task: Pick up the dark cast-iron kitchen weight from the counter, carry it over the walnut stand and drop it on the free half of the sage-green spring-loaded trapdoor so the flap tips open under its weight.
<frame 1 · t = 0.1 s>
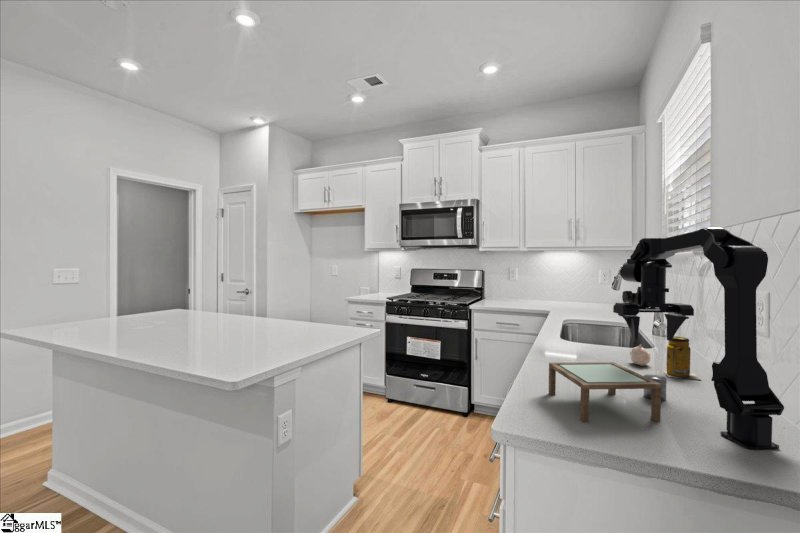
hand: (652, 340, 105), 14 cm above the worktop, fingers open, 9 cm apart
trapdoor: (599, 374, 95), point 8 cm above the worktop, hinge at 0.0°
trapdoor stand: (599, 406, 95), on the worktop
condiment: (681, 376, 120), on the worktop
garlic bulb: (640, 365, 132), on the worktop
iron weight: (654, 397, 101), on the worktop
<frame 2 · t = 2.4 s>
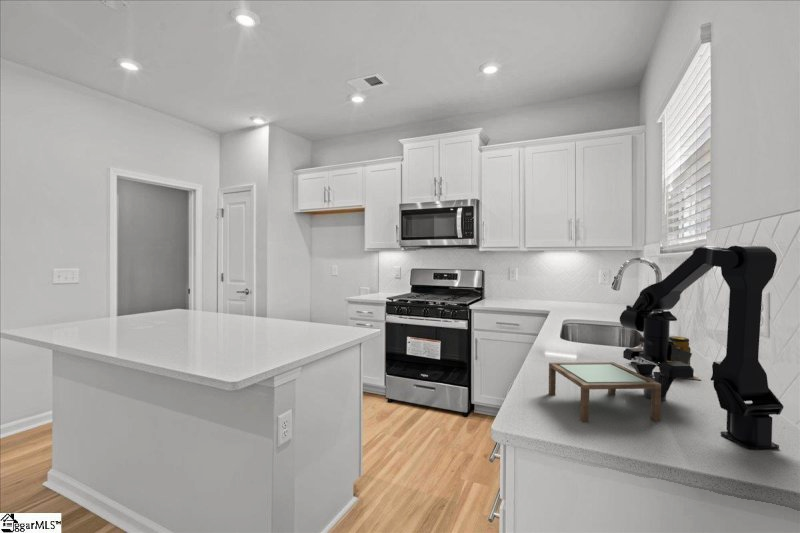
hand: (654, 393, 101), 1 cm above the worktop, fingers closed on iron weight, 5 cm apart
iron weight: (654, 397, 101), on the worktop, touching gripper
everything else where it was.
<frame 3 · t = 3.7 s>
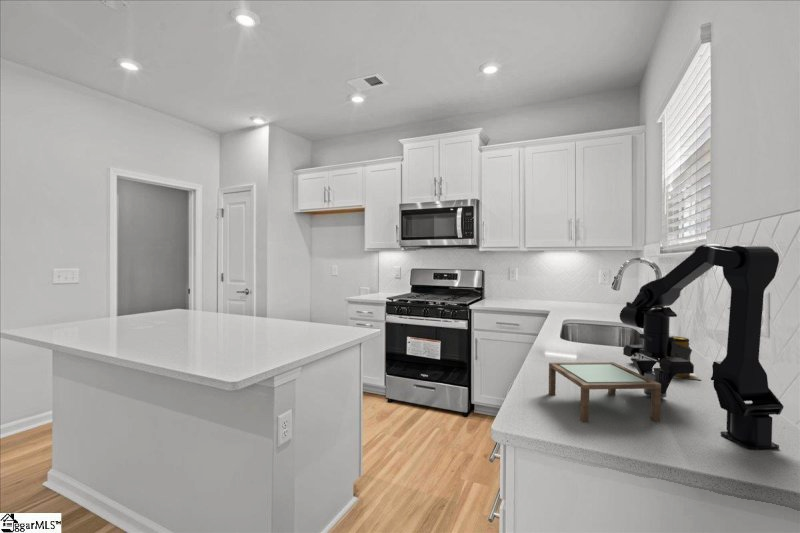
hand: (655, 390, 101), 2 cm above the worktop, fingers closed on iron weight, 5 cm apart
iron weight: (654, 394, 101), point 1 cm above the worktop, touching gripper
everything else where it was.
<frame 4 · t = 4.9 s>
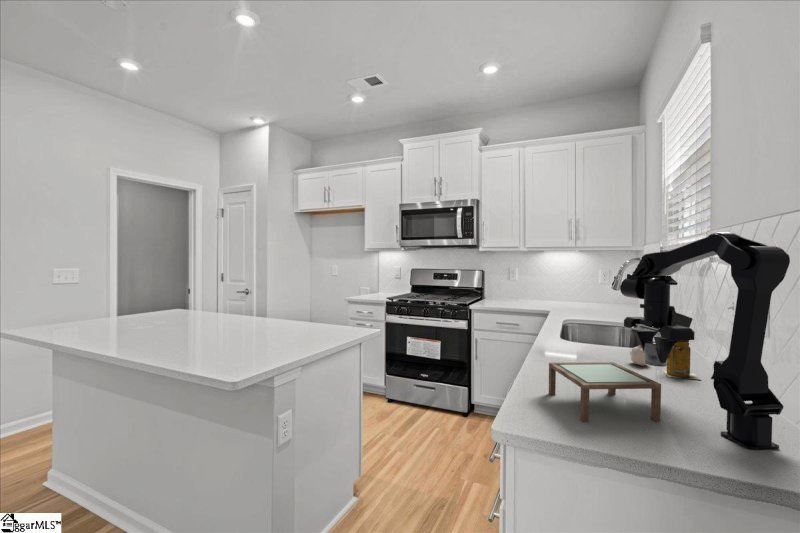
hand: (655, 359, 101), 10 cm above the worktop, fingers closed on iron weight, 5 cm apart
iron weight: (655, 363, 101), point 9 cm above the worktop, touching gripper
everything else where it was.
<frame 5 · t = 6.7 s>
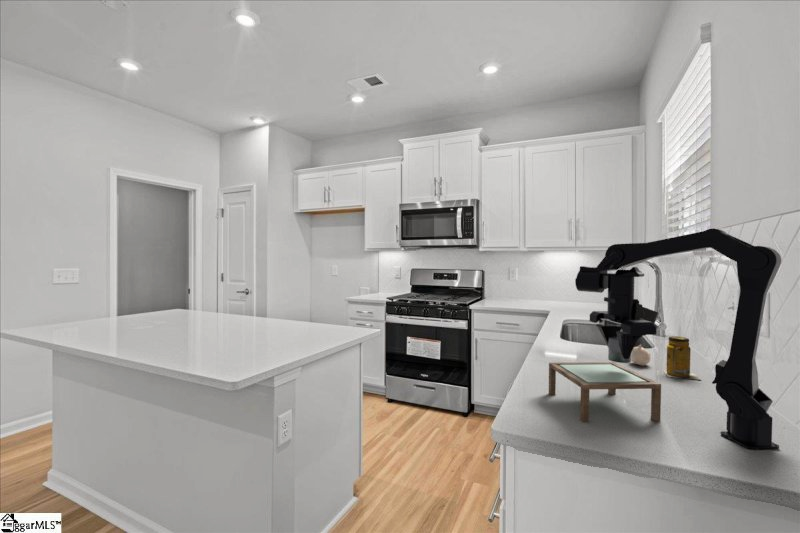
hand: (619, 356, 96), 12 cm above the worktop, fingers closed on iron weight, 5 cm apart
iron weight: (619, 360, 96), point 11 cm above the worktop, touching gripper
everything else where it was.
when the fingers open (12 cm above the worktop, at t = 7.6 s): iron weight drops 7 cm, resting on trapdoor, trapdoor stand.
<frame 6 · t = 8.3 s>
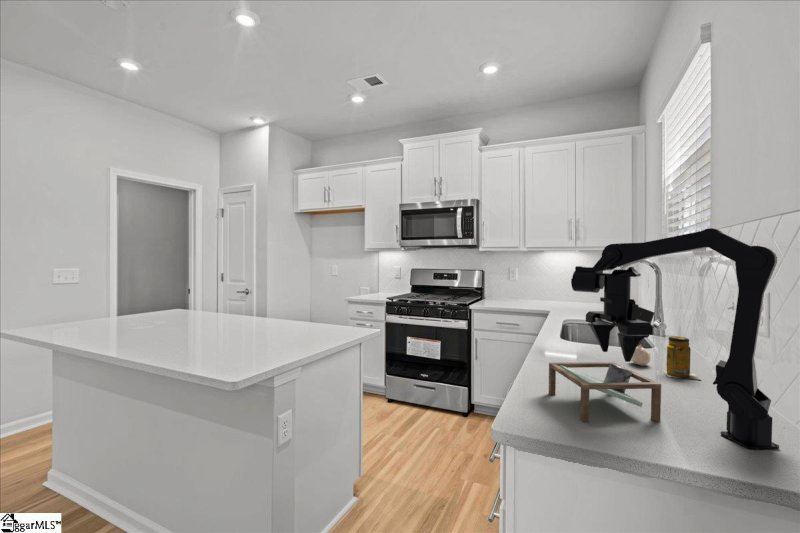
hand: (615, 356, 95), 12 cm above the worktop, fingers open, 9 cm apart
trapdoor: (597, 384, 95), point 5 cm above the worktop, hinge at -21.3°, touching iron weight
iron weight: (613, 388, 95), point 4 cm above the worktop, tilted 20°, touching trapdoor, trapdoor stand
everything else where it was.
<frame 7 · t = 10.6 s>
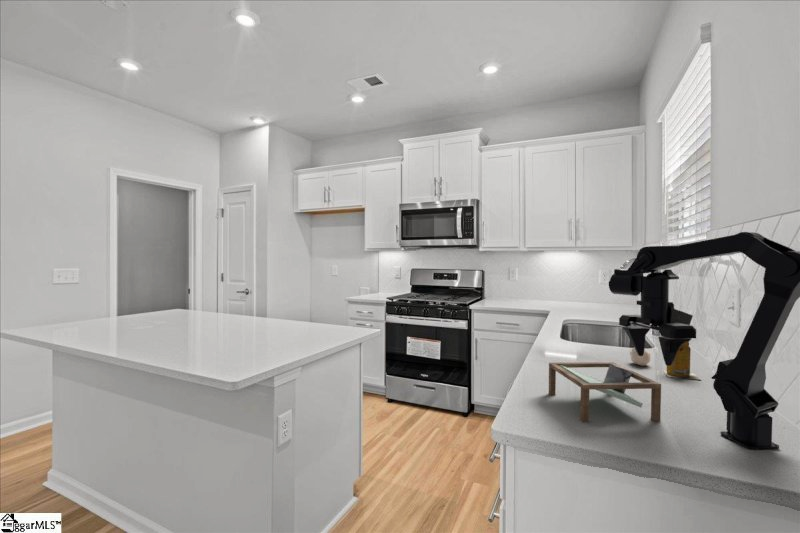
hand: (654, 360, 94), 12 cm above the worktop, fingers open, 9 cm apart
trapdoor: (597, 384, 95), point 5 cm above the worktop, hinge at -21.7°, touching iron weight
everything else where it was.
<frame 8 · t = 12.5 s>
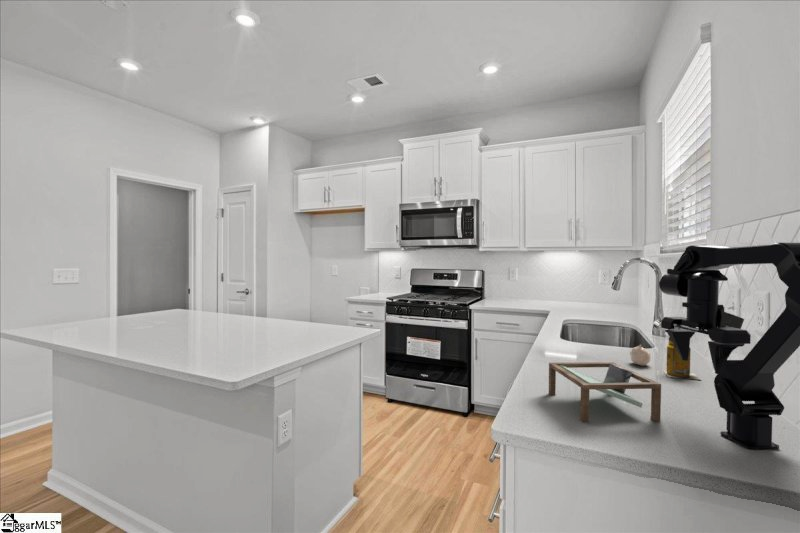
hand: (700, 365, 89), 12 cm above the worktop, fingers open, 9 cm apart
nothing on the worktop moved.
at the end: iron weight point 4.4 cm above the worktop; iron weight 7.0 cm from the trapdoor (horizontally); the gripper is holding nothing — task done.
